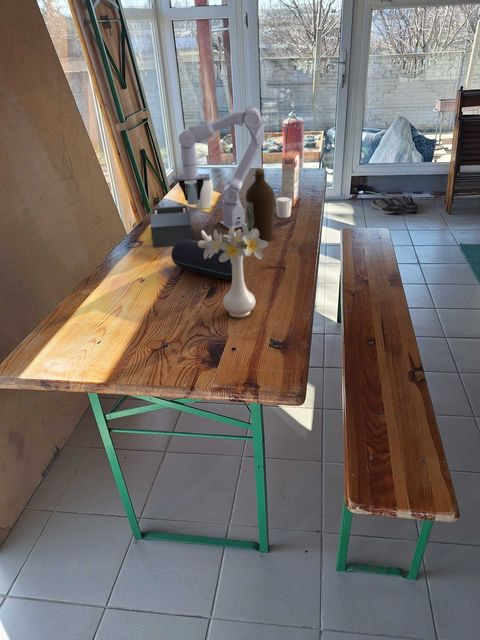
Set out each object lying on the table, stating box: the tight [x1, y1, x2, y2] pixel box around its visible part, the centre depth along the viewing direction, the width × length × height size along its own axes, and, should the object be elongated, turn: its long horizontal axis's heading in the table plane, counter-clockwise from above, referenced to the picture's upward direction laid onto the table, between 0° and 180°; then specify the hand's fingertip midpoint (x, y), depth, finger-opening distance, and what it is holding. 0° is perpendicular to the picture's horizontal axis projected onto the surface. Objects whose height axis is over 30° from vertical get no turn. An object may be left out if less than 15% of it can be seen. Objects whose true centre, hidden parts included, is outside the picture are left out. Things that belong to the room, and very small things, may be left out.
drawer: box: [152, 205, 188, 214], centre depth 197 cm, size 15×13×6 cm
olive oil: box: [245, 168, 276, 242], centre depth 182 cm, size 11×11×25 cm
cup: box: [195, 177, 214, 210], centre depth 218 cm, size 9×9×12 cm
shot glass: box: [275, 196, 292, 219], centre depth 208 cm, size 7×7×7 cm
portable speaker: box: [170, 239, 245, 281], centre depth 160 cm, size 25×10×10 cm, turn 59°
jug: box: [185, 181, 198, 206], centre depth 195 cm, size 6×4×8 cm
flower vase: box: [198, 224, 269, 318], centre depth 134 cm, size 13×18×25 cm
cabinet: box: [150, 211, 194, 248], centre depth 187 cm, size 15×15×8 cm
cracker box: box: [281, 150, 301, 208], centre depth 218 cm, size 14×6×21 cm, turn 168°
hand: (192, 199), depth 196 cm, fingers closed on jug, 4 cm apart
